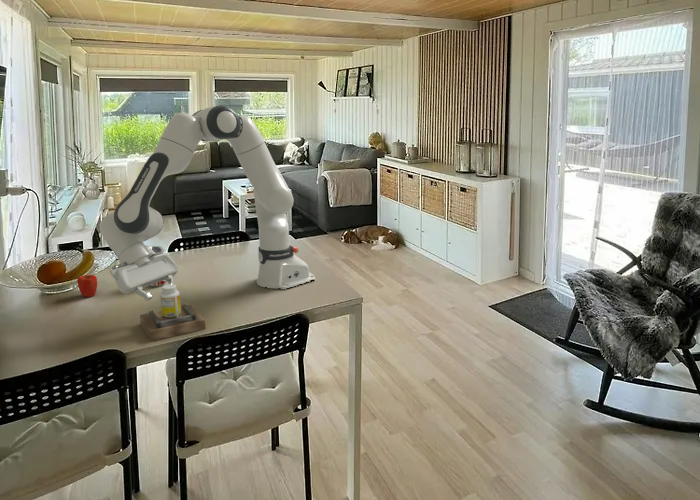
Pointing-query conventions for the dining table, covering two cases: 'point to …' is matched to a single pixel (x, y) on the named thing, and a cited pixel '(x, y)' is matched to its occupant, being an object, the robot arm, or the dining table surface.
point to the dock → (172, 323)
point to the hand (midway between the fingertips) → (161, 294)
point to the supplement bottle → (170, 302)
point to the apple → (87, 285)
